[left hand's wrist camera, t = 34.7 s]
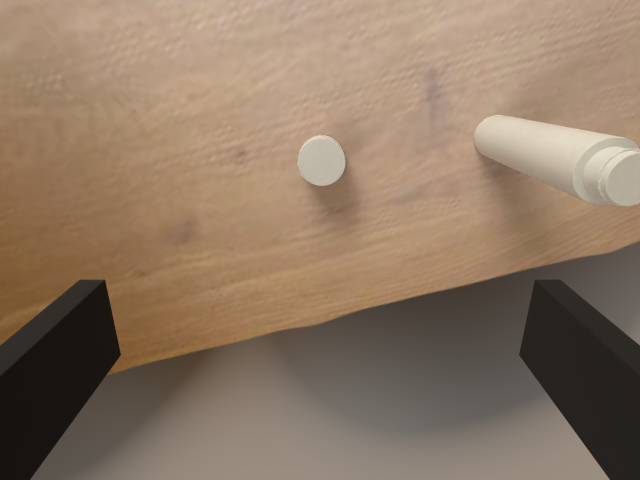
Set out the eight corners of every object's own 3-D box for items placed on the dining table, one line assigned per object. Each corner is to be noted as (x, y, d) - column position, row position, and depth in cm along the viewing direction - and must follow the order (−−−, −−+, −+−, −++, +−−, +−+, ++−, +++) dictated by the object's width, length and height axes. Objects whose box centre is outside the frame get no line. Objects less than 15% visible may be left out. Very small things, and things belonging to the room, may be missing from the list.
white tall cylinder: (511, 157, 40) (659, 216, 23) (470, 156, 40) (587, 215, 23) (519, 115, 39) (684, 143, 21) (477, 114, 39) (607, 141, 21)
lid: (331, 126, 39) (332, 129, 37) (351, 168, 41) (353, 173, 38) (291, 148, 40) (289, 152, 38) (311, 187, 41) (311, 193, 39)
